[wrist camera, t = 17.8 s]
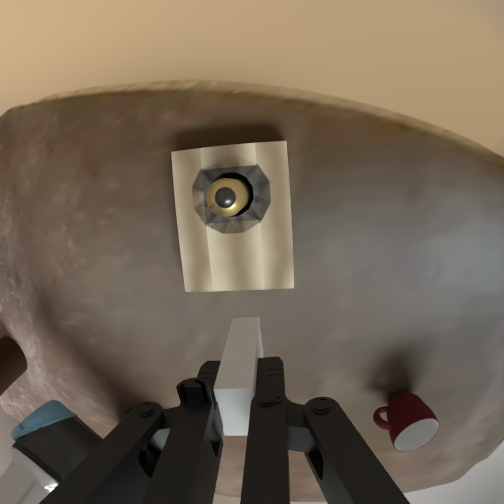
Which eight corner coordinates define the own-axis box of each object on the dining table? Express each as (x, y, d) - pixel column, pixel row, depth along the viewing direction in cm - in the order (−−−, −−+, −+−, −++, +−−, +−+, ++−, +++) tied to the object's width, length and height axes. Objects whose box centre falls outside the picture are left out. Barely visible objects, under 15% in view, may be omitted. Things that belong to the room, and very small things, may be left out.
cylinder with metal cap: (221, 211, 39) (208, 218, 31) (218, 181, 38) (204, 181, 30) (252, 208, 39) (246, 214, 31) (248, 177, 38) (242, 176, 30)
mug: (361, 418, 46) (373, 457, 36) (371, 385, 44) (387, 424, 34) (411, 411, 45) (429, 447, 35) (424, 379, 43) (446, 413, 33)
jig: (191, 284, 42) (185, 291, 39) (178, 154, 38) (171, 152, 35) (292, 280, 41) (294, 287, 38) (285, 144, 37) (286, 140, 34)
